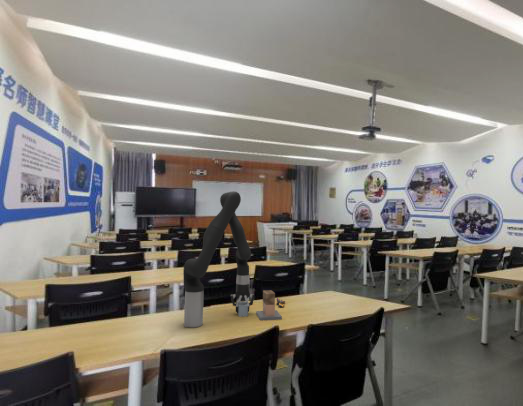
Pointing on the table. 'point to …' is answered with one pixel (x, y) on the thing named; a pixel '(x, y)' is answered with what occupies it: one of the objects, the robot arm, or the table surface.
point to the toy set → (280, 303)
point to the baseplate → (262, 317)
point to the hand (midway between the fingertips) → (242, 312)
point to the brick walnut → (269, 297)
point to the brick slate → (242, 309)
